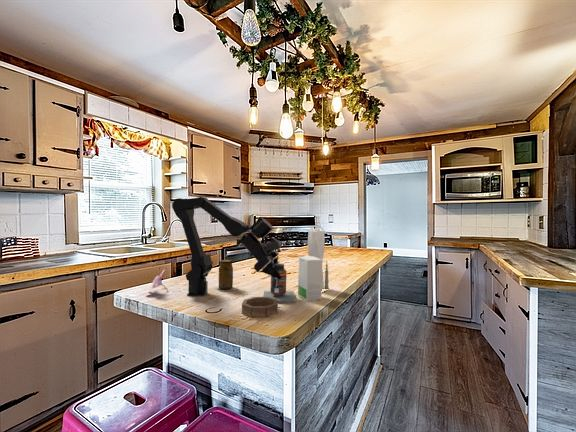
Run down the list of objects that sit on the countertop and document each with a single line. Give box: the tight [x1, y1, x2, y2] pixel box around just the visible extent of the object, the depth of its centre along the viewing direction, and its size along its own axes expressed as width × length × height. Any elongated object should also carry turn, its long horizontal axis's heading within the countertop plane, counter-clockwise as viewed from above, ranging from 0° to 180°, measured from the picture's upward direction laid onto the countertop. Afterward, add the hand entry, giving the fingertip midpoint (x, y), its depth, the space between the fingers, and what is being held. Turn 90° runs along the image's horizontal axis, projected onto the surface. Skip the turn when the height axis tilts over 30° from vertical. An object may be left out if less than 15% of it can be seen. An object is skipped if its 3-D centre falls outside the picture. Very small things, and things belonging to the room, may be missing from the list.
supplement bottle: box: [270, 262, 287, 295], centre depth 108 cm, size 6×6×11 cm
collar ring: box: [241, 296, 279, 318], centre depth 94 cm, size 12×12×3 cm
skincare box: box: [297, 255, 323, 302], centre depth 109 cm, size 8×7×16 cm
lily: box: [145, 269, 170, 297], centre depth 114 cm, size 12×12×10 cm
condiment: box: [214, 259, 239, 292], centre depth 122 cm, size 7×8×12 cm
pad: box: [262, 290, 296, 304], centre depth 108 cm, size 12×12×1 cm
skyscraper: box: [307, 225, 330, 291], centre depth 120 cm, size 8×8×28 cm
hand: (282, 276), depth 108 cm, fingers closed on supplement bottle, 6 cm apart
